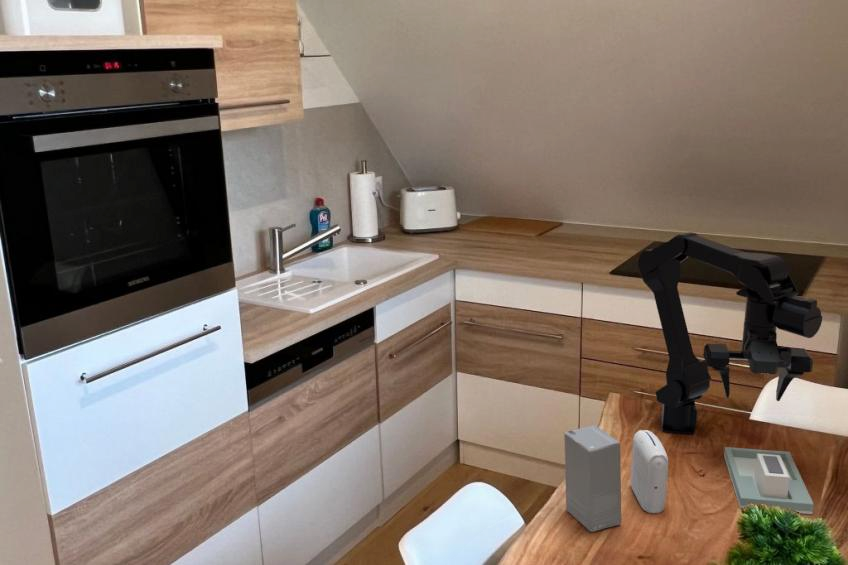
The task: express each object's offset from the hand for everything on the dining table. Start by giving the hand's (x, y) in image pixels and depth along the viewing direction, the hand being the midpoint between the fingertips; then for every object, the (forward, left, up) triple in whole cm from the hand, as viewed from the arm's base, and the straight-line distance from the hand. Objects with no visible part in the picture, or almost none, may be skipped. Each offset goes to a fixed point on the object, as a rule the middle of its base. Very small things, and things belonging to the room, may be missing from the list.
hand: (752, 398), depth 158 cm
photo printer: (-20, -18, -13) cm, 30 cm away
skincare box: (-30, -26, -13) cm, 42 cm away
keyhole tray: (+2, -9, -13) cm, 16 cm away
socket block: (+2, -13, -12) cm, 18 cm away
